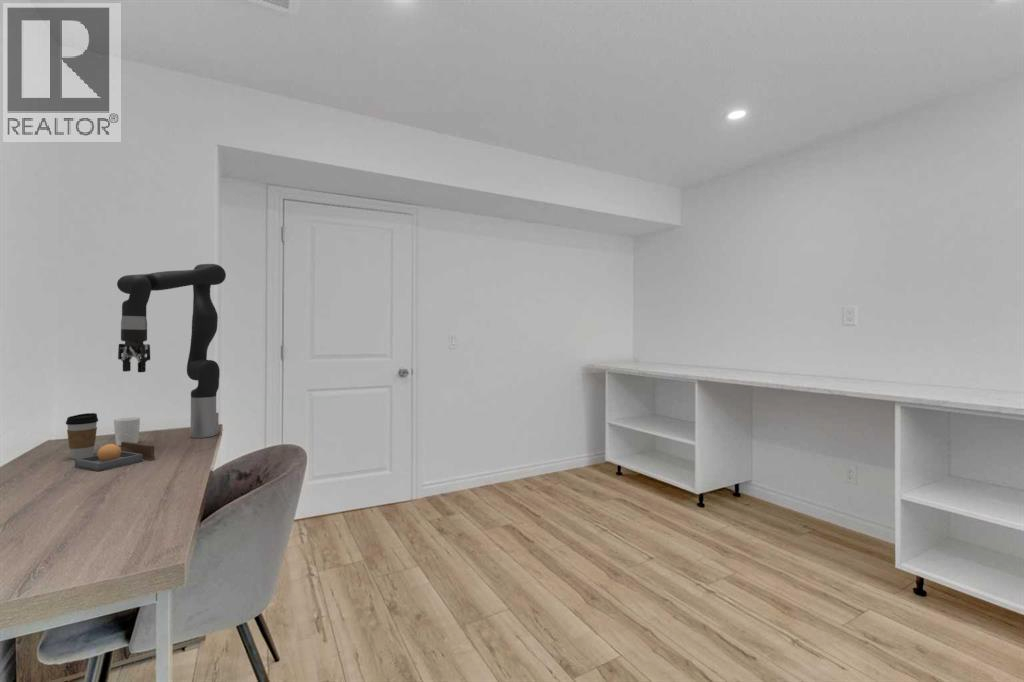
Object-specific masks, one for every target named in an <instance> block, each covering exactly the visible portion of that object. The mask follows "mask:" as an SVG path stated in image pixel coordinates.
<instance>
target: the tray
mask: <svg viewBox="0 0 1024 682" xmlns="http://www.w3.org/2000/svg"><path fill="white" fill-rule="evenodd" d="M142 456H143V454H139V453H132V452H126V451H121V455H120V456H119V458H117V459H115V460H110V461H105V462H103V461H101V460H100V459H99V458H98V455H97V454H96V455H95V454H94V455H93V456H90V457H85V458H80V459H74V468H78V469H84V470H89V471H94V472H102V471H106V470H107V471H108V470H111V469H115V468H119V467H122V466H127V465H128V466H129V465H132V464H136V463H140V462H143V459H142Z"/></svg>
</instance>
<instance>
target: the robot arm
mask: <svg viewBox="0 0 1024 682" xmlns="http://www.w3.org/2000/svg"><path fill="white" fill-rule="evenodd" d="M226 276H227V275H226V270H225V269H224V268H223V267H222V265H219V264H216V263H203V264H202V263H201V264H197V265H196V266H195V267H194V268H193V269H185V270H181V269H180V270H166V271H164V270H163V271H158V272H152V273H151V272H150V273H142V274H129V275H128V274H127V275H123V276H121V277H120V278H119V279H118V280H117V283H116V286H117V288H118V290H119V291H120V292H122V293H124V294H127V295H129V296H128V298H127V300H124V301H123V302H122V304H121V320H120V341H121V342H124V343H119V344H118V347H117V348H118V349H117V350H118V353H117V359H118V360H120V361H121V362H122V371H123V372H131V370H132V369H131V368H132V367H131V366H132V365H131V364H132V363H131V362H132V361H131V360H132V358H133V357H134V358H135V359H136V361H137V372H138V373H146V367H147V365H146V363H147V362H148V361H151V345H150V344H149V343H148V344H147V343H145V344H144V342H147V341H148V320H147V318H148V317H147V306H148V302H149V301H150V296H151V294H152V293H151V292H152V291H164V290H165V291H166V290H172V289H177V288H183V287H189V286H192V288H193V289H192V292H193V294H192V295H193V297H192V298H193V299H192V301H193V302H192V316H191V338H190V347H189V353H188V358H187V364H186V374H187V376H188V378H189V379H190V380H192V381H197V387H195V388H194V389H192V390H191V391H190V433H189V435H190V438H193V439H194V438H195V439H201V438H209V437H213V436H214V437H215V436H217V435H218V434H219V417H220V416H219V412H217V393H218V390H219V387H220V371H221V370H220V365H219V364H218V363H217V362H216V361H214V360H212V359H207V357H208V349H209V346H210V345H211V342H212V341H213V339H214V337H215V336H216V334H217V330H218V321H219V316H218V312H217V309H216V308H215V305H214V304H213V303H214V302H213V301H212V298H211V287H212V286H216V285H217V286H218V285H220V284H222V283H224V281H225V280H226Z"/></svg>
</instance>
